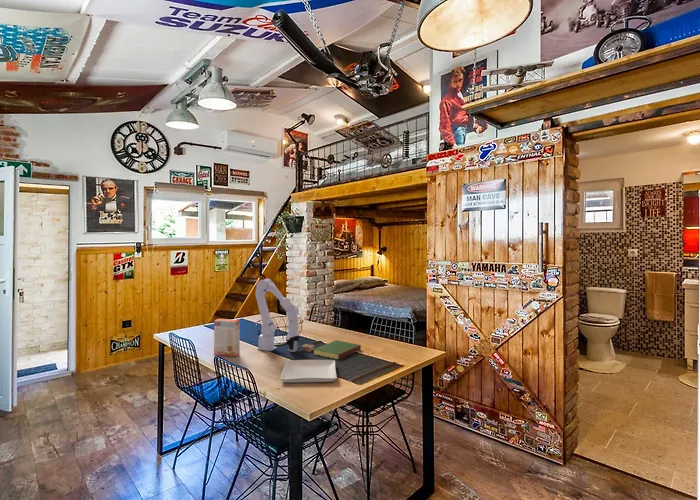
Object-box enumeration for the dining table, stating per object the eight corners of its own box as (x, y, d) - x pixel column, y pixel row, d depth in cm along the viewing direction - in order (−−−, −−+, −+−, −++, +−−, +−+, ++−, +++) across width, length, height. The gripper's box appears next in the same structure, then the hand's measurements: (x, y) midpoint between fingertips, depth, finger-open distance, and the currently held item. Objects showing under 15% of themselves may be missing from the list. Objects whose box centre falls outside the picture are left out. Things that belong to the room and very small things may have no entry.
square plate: (285, 366, 208) (285, 359, 208) (335, 366, 210) (335, 359, 210) (279, 385, 181) (279, 377, 181) (336, 385, 183) (337, 377, 183)
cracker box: (240, 354, 228) (240, 319, 227) (234, 357, 222) (234, 321, 221) (219, 352, 232) (219, 318, 231) (213, 354, 226) (213, 320, 225)
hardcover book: (338, 360, 220) (339, 354, 220) (313, 355, 230) (313, 349, 230) (361, 350, 241) (361, 344, 241) (336, 345, 251) (336, 340, 251)
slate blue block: (288, 351, 235) (288, 341, 235) (291, 349, 239) (291, 340, 239) (294, 352, 234) (294, 342, 234) (297, 350, 238) (297, 340, 237)
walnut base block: (301, 351, 237) (301, 346, 237) (305, 348, 242) (305, 344, 242) (309, 352, 235) (309, 347, 235) (314, 349, 240) (314, 345, 240)
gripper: (293, 330, 228) (293, 352, 228) (303, 324, 241) (303, 346, 242) (282, 329, 230) (282, 351, 230) (293, 324, 244) (293, 345, 244)
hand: (292, 348), depth 236 cm, fingers closed on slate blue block, 4 cm apart
